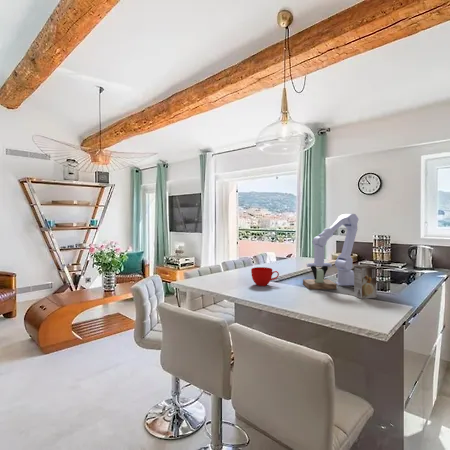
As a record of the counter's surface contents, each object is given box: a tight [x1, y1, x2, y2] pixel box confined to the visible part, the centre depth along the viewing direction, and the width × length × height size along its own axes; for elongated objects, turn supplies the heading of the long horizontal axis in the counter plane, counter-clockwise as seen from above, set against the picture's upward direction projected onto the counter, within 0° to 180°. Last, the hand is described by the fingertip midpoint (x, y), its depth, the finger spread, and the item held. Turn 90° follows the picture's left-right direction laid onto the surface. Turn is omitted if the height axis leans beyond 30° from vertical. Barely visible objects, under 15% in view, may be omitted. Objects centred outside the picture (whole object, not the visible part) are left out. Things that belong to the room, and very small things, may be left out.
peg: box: [315, 269, 325, 283], centre depth 187 cm, size 4×4×9 cm
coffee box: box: [353, 265, 377, 300], centre depth 164 cm, size 9×6×16 cm
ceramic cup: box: [250, 266, 280, 287], centre depth 193 cm, size 13×17×10 cm
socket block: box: [302, 278, 338, 290], centre depth 188 cm, size 16×14×3 cm
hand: (319, 278), depth 188 cm, fingers closed on peg, 4 cm apart
